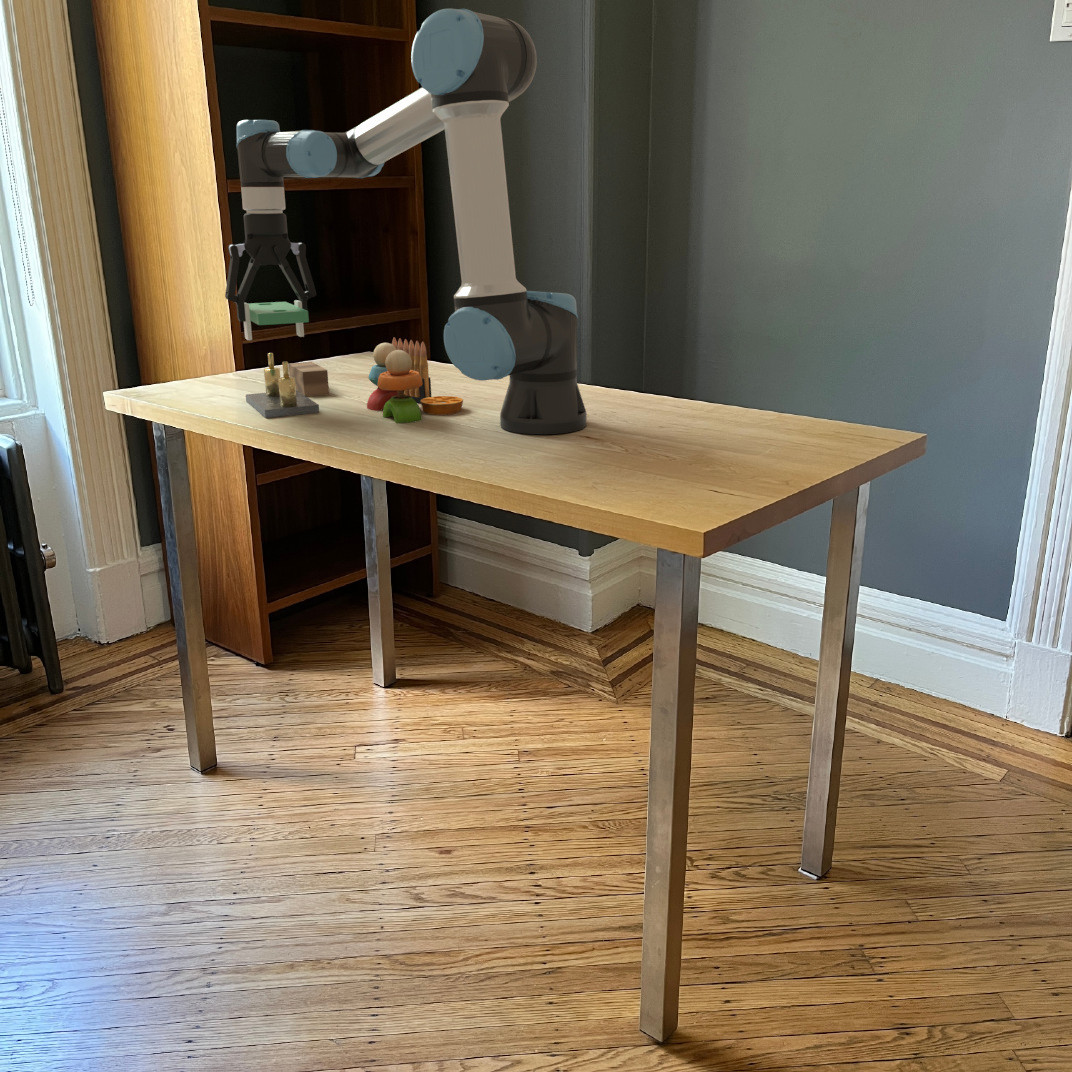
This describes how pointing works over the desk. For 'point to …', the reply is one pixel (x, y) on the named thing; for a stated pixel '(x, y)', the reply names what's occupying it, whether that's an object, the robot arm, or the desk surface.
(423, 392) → the ammunition clip
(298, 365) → the stand
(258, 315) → the board
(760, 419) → the desk surface
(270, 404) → the chassis
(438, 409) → the colourful wooden toy set
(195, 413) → the desk surface
